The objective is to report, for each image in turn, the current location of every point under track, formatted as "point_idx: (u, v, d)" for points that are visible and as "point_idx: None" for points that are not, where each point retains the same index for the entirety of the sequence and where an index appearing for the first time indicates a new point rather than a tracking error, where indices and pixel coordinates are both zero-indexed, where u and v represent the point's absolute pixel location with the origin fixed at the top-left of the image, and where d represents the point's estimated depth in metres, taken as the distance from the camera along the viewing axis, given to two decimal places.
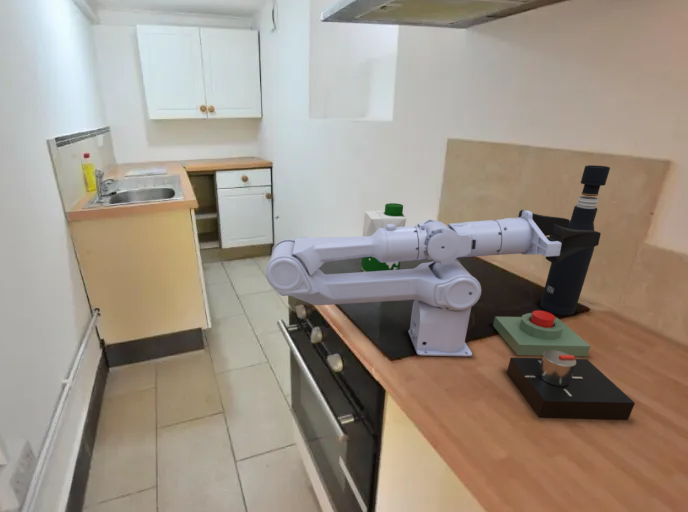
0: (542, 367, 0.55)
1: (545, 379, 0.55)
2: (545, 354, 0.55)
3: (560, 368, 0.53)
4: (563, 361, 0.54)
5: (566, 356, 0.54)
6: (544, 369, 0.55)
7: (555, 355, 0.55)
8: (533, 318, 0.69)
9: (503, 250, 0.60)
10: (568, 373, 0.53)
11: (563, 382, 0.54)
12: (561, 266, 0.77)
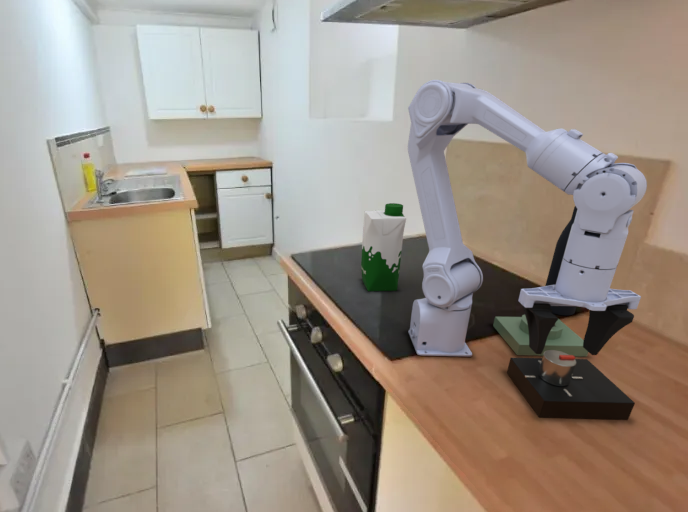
0: (542, 367, 0.55)
1: (545, 379, 0.55)
2: (545, 354, 0.55)
3: (560, 368, 0.53)
4: (563, 361, 0.54)
5: (566, 356, 0.54)
6: (544, 369, 0.55)
7: (555, 355, 0.55)
8: None
9: (562, 261, 0.51)
10: (568, 373, 0.53)
11: (563, 382, 0.54)
12: None
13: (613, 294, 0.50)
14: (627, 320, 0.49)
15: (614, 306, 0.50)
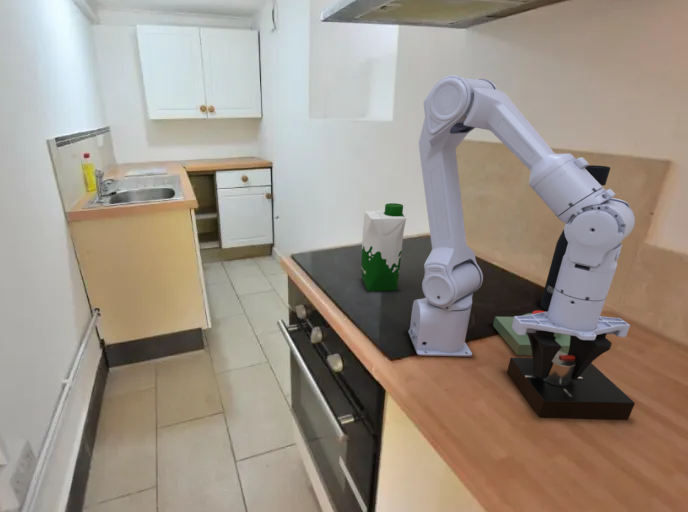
0: None
1: (545, 379, 0.55)
2: None
3: (560, 368, 0.53)
4: (563, 361, 0.54)
5: (566, 356, 0.54)
6: None
7: (555, 355, 0.55)
8: None
9: None
10: (568, 373, 0.53)
11: (563, 382, 0.54)
12: None
13: (603, 322, 0.52)
14: (604, 348, 0.51)
15: None
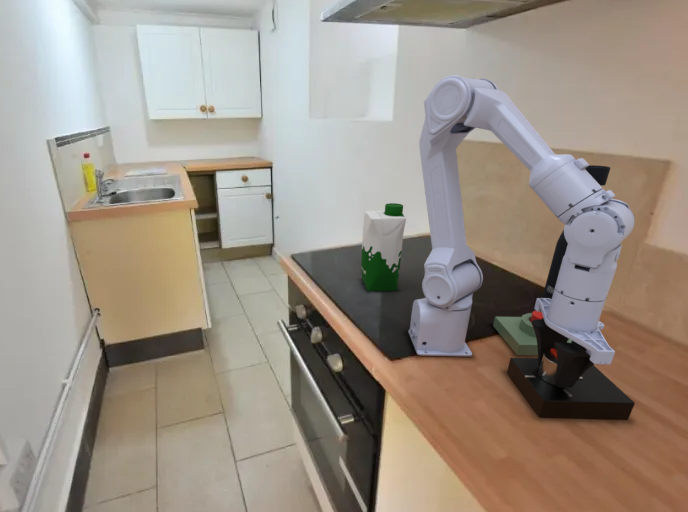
0: None
1: None
2: None
3: None
4: None
5: None
6: None
7: None
8: (533, 318, 0.69)
9: (579, 304, 0.49)
10: None
11: None
12: None
13: None
14: None
15: None
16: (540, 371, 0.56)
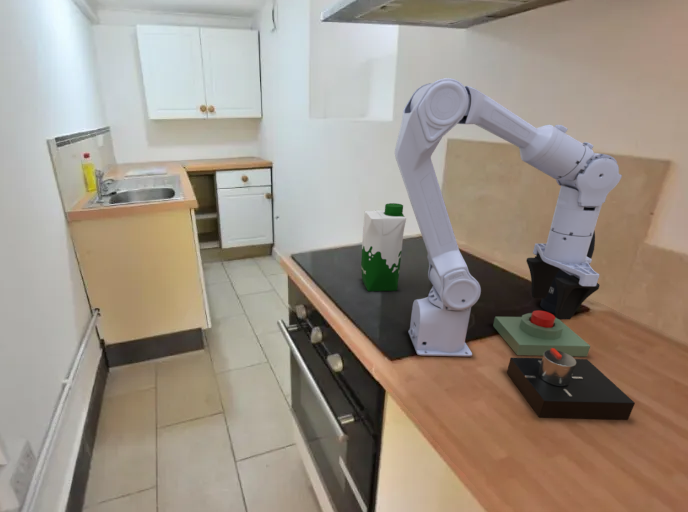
0: (564, 376, 0.53)
1: (567, 383, 0.54)
2: (560, 364, 0.53)
3: None
4: (566, 358, 0.55)
5: (557, 352, 0.55)
6: (567, 377, 0.54)
7: (557, 358, 0.54)
8: (533, 318, 0.69)
9: (570, 239, 0.58)
10: None
11: None
12: None
13: None
14: None
15: None
16: (540, 371, 0.56)
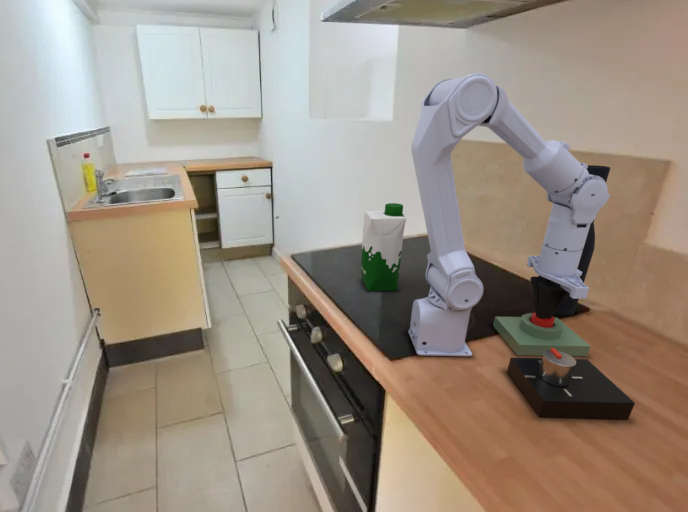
0: (564, 376, 0.53)
1: (567, 383, 0.54)
2: (560, 364, 0.53)
3: None
4: (566, 358, 0.55)
5: (557, 352, 0.55)
6: (567, 377, 0.54)
7: (557, 358, 0.54)
8: (532, 319, 0.69)
9: (562, 253, 0.62)
10: None
11: None
12: None
13: None
14: None
15: None
16: (540, 371, 0.56)
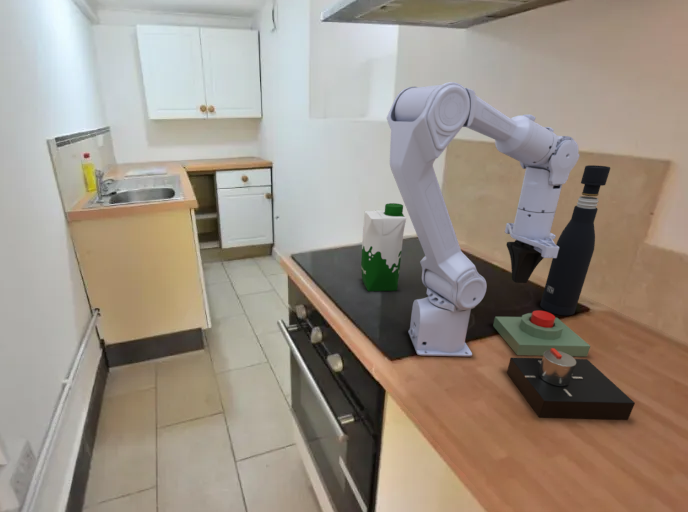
0: (564, 376, 0.53)
1: (567, 383, 0.54)
2: (560, 364, 0.53)
3: None
4: (566, 358, 0.55)
5: (557, 352, 0.55)
6: (567, 377, 0.54)
7: (557, 358, 0.54)
8: (533, 318, 0.69)
9: (534, 215, 0.63)
10: None
11: None
12: (561, 266, 0.77)
13: None
14: None
15: None
16: (540, 371, 0.56)
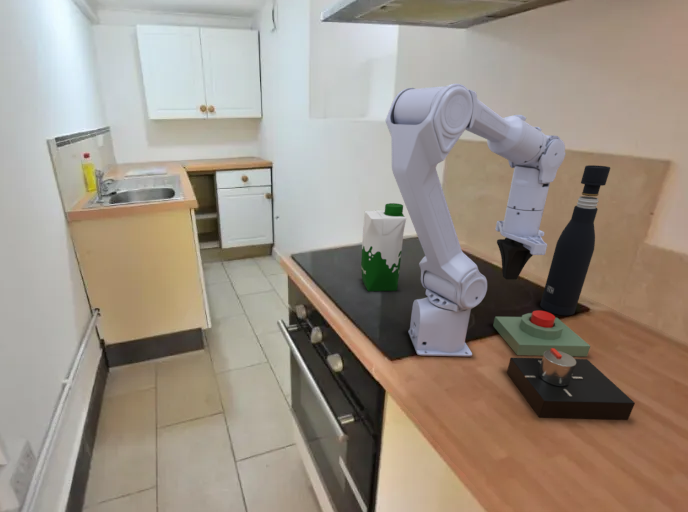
0: (564, 376, 0.53)
1: (567, 383, 0.54)
2: (560, 364, 0.53)
3: None
4: (566, 358, 0.55)
5: (557, 352, 0.55)
6: (567, 377, 0.54)
7: (557, 358, 0.54)
8: (533, 318, 0.69)
9: (523, 213, 0.64)
10: None
11: None
12: (561, 266, 0.77)
13: None
14: None
15: None
16: (540, 371, 0.56)
